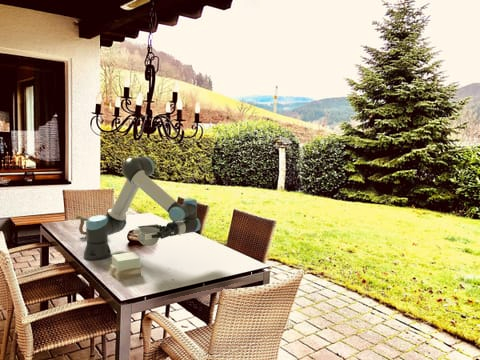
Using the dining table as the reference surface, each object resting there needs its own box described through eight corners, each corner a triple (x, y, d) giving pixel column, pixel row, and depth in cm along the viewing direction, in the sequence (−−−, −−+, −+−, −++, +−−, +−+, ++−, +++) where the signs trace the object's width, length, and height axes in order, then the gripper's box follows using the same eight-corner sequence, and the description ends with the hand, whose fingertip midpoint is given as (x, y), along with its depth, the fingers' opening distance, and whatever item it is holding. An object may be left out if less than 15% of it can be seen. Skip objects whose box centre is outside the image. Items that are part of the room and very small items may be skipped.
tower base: (109, 273, 203) (109, 264, 202) (131, 269, 211) (131, 260, 210) (119, 281, 194) (119, 271, 193) (141, 275, 202) (141, 266, 201)
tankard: (108, 235, 271) (108, 214, 269) (100, 240, 259) (100, 219, 257) (81, 234, 273) (81, 213, 271) (71, 238, 260) (71, 217, 259)
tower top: (111, 264, 203) (111, 255, 203) (132, 260, 209) (132, 251, 209) (118, 270, 194) (118, 261, 194) (139, 267, 200) (139, 257, 200)
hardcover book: (147, 236, 274) (147, 233, 274) (137, 229, 293) (137, 226, 293) (169, 234, 282) (169, 231, 282) (158, 227, 302) (158, 224, 301)
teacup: (150, 239, 211) (150, 225, 210) (163, 244, 205) (164, 229, 203) (129, 245, 200) (129, 230, 199) (142, 250, 194) (142, 234, 193)
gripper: (187, 240, 206) (151, 247, 191) (163, 230, 223) (128, 236, 208) (188, 226, 205) (151, 232, 190) (164, 217, 222) (128, 222, 207)
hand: (139, 234), depth 199 cm, fingers closed on teacup, 11 cm apart
